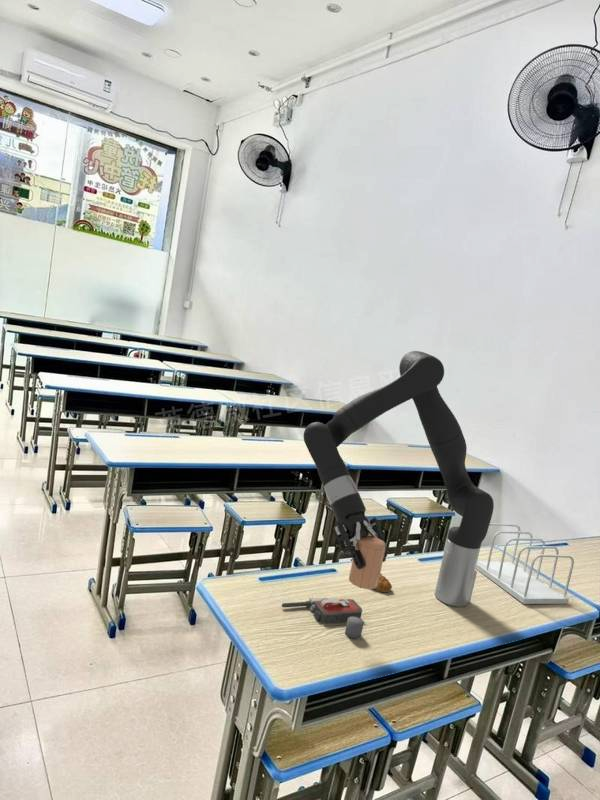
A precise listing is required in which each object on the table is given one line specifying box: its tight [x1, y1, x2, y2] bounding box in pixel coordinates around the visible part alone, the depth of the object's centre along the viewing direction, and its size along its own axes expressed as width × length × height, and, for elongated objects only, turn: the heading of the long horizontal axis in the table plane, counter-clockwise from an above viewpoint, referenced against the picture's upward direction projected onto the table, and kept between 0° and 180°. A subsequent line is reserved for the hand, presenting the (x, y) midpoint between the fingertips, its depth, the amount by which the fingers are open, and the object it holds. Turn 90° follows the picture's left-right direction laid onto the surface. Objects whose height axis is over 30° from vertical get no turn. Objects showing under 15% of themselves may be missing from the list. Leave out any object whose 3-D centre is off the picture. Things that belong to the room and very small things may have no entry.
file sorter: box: [475, 522, 575, 605], centre depth 173 cm, size 25×17×16 cm
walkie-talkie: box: [281, 597, 363, 624], centre depth 135 cm, size 9×4×20 cm
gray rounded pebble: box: [344, 617, 365, 640], centre depth 128 cm, size 4×4×4 cm
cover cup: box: [348, 536, 387, 590], centre depth 125 cm, size 7×7×10 cm
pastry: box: [373, 572, 393, 593], centre depth 155 cm, size 9×7×4 cm
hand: (372, 564), depth 124 cm, fingers closed on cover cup, 7 cm apart
